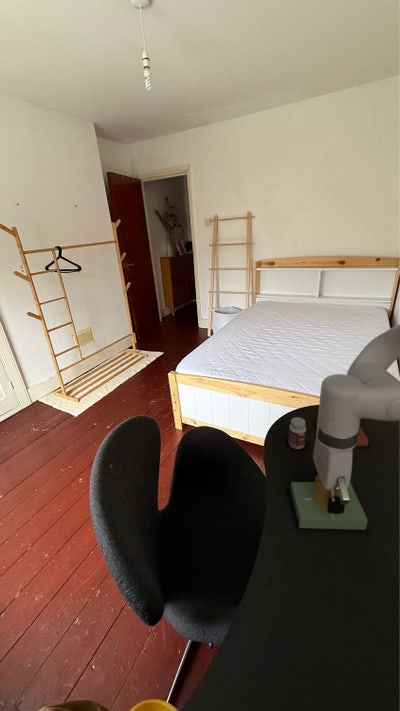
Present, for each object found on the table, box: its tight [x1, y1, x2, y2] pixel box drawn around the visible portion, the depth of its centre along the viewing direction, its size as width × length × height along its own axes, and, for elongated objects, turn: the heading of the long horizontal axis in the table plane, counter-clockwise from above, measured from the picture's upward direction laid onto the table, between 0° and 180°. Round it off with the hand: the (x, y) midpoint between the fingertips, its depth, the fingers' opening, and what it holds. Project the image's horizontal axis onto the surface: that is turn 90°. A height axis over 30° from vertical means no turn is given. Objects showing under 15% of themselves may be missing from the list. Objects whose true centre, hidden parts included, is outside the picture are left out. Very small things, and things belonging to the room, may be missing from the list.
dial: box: [314, 475, 340, 510], centre depth 67 cm, size 6×6×6 cm
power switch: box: [315, 418, 370, 447], centre depth 91 cm, size 12×10×4 cm
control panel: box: [290, 481, 369, 531], centre depth 69 cm, size 14×10×3 cm
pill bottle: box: [288, 416, 307, 450], centre depth 88 cm, size 5×5×8 cm
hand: (328, 493), depth 67 cm, fingers open, 9 cm apart
